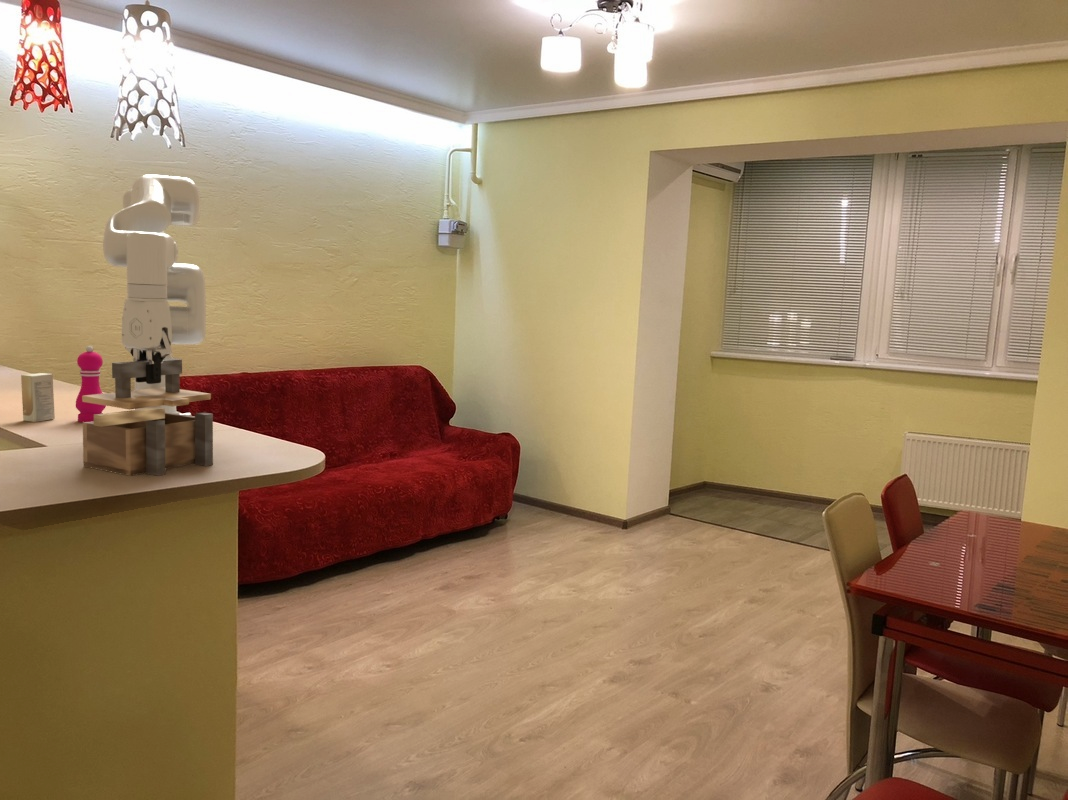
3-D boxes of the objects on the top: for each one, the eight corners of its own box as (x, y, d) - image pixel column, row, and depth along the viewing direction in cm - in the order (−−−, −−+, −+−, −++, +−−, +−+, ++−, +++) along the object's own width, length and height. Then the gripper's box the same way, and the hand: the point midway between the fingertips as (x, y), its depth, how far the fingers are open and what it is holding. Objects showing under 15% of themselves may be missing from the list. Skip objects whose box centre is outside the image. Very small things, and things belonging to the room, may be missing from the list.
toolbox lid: (165, 392, 190) (165, 355, 189) (219, 400, 182) (219, 362, 181) (82, 401, 172) (81, 361, 171) (138, 411, 165) (137, 368, 164)
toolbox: (166, 452, 191) (165, 404, 190) (223, 462, 183) (223, 412, 182) (83, 466, 173) (82, 413, 172) (143, 478, 165) (143, 423, 164)
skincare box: (43, 417, 229) (42, 372, 228) (55, 419, 227) (54, 373, 226) (21, 420, 223) (20, 374, 222) (33, 422, 221) (31, 375, 220)
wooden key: (158, 417, 170) (157, 407, 170) (165, 418, 169) (164, 408, 169) (93, 425, 157) (93, 414, 157) (101, 426, 157) (100, 415, 156)
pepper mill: (112, 419, 231) (110, 345, 229) (95, 423, 224) (94, 347, 221) (86, 418, 232) (85, 344, 229) (69, 421, 225) (68, 345, 222)
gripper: (104, 291, 175) (106, 380, 178) (159, 295, 168) (160, 388, 170) (136, 291, 182) (137, 377, 184) (190, 295, 174) (190, 385, 177)
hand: (148, 381), depth 177 cm, fingers closed on toolbox lid, 2 cm apart
